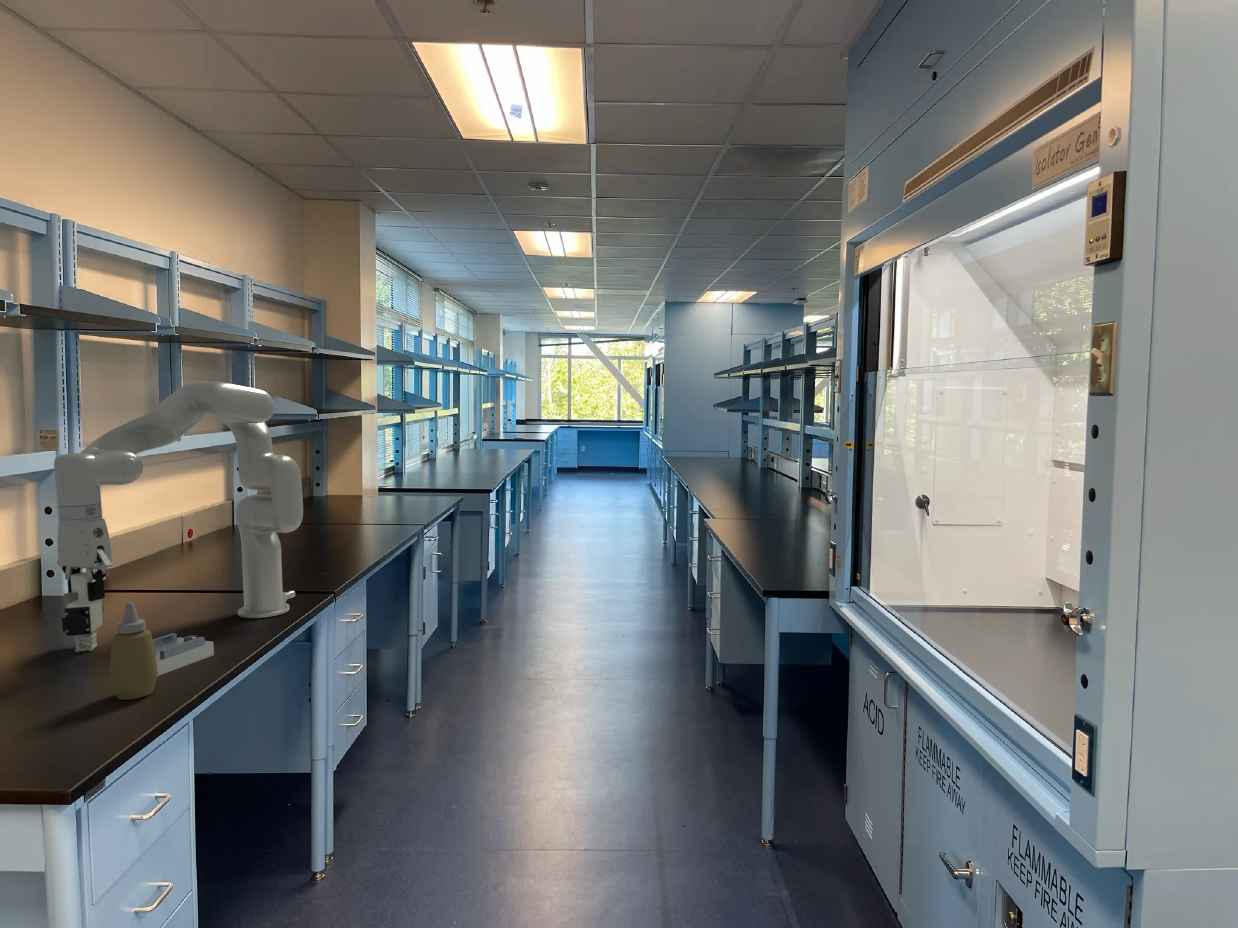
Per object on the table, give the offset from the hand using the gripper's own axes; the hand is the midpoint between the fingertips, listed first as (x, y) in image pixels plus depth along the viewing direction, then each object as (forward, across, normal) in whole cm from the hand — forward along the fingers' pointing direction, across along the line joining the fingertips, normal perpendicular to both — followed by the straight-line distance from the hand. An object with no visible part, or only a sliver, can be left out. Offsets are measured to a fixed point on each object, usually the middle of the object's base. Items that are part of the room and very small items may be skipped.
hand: (86, 597), depth 162 cm
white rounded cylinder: (+1, 0, 0) cm, 1 cm away
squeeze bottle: (+16, -22, +8) cm, 28 cm away
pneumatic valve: (+16, +14, -8) cm, 23 cm away
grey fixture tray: (+16, -12, -8) cm, 21 cm away
